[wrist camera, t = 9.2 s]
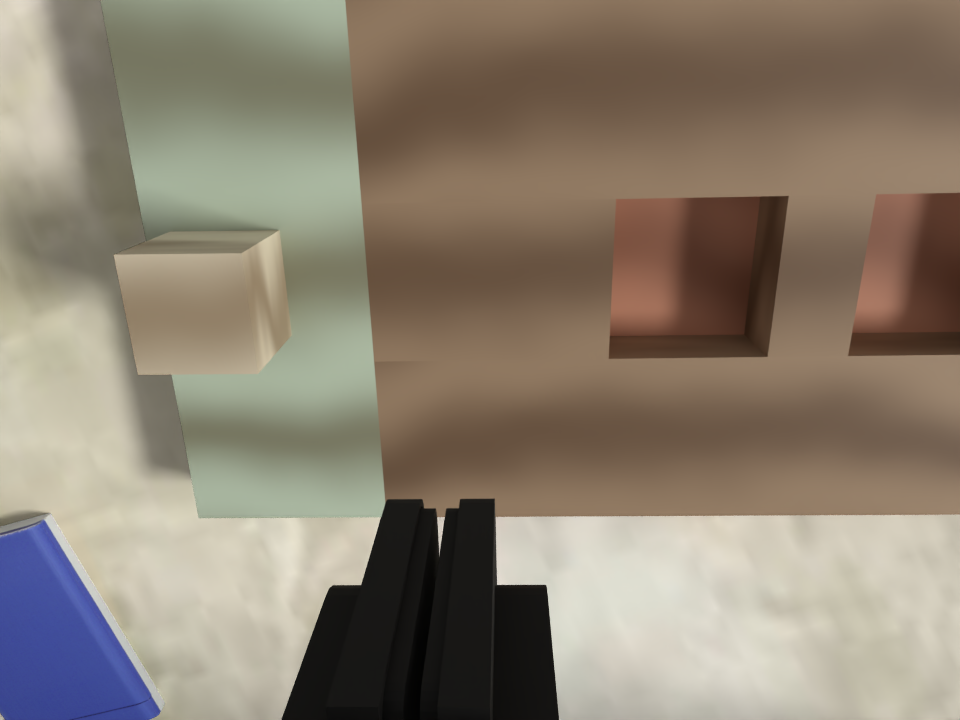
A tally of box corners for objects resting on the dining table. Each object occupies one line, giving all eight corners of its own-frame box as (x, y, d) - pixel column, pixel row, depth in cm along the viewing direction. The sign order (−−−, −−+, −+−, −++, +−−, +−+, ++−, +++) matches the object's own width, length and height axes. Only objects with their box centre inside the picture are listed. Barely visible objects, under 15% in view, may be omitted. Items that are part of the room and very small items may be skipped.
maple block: (291, 335, 27) (258, 374, 23) (188, 335, 27) (137, 374, 23) (279, 230, 25) (241, 253, 21) (170, 231, 25) (113, 254, 22)
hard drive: (-113, 565, 33) (20, 750, 38) (37, 524, 32) (157, 719, 36) (-87, 546, 35) (38, 725, 39) (57, 506, 34) (170, 695, 38)
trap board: (971, 476, 31) (1018, 514, 29) (224, 481, 32) (198, 518, 30) (1100, -26, 24) (1179, -42, 22) (142, 1, 25) (97, -12, 23)
